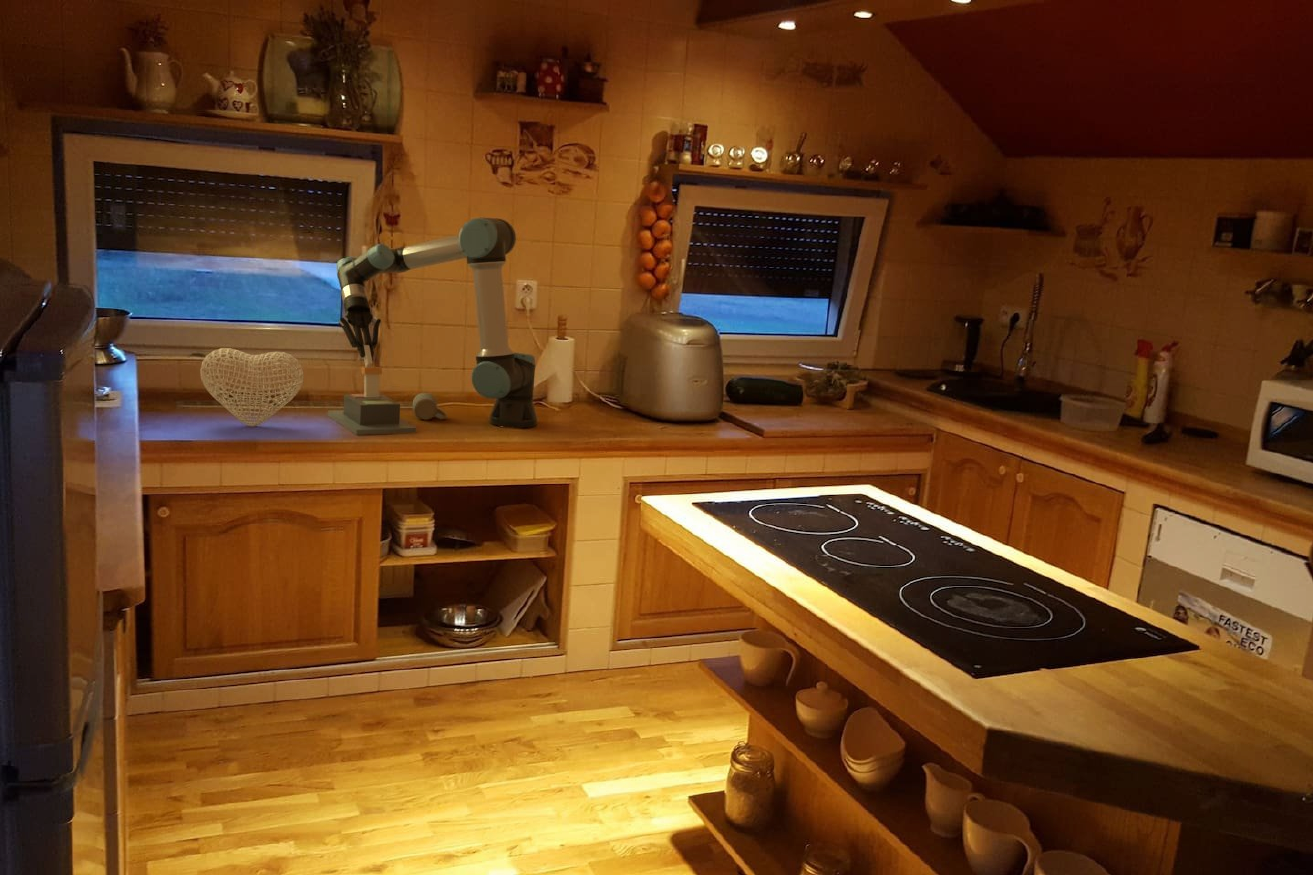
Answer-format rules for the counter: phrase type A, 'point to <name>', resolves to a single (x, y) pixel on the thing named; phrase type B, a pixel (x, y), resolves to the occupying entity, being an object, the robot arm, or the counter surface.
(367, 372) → the breaker lever
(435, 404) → the ceramic mug
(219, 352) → the heart
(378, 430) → the breaker box
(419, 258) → the robot arm
